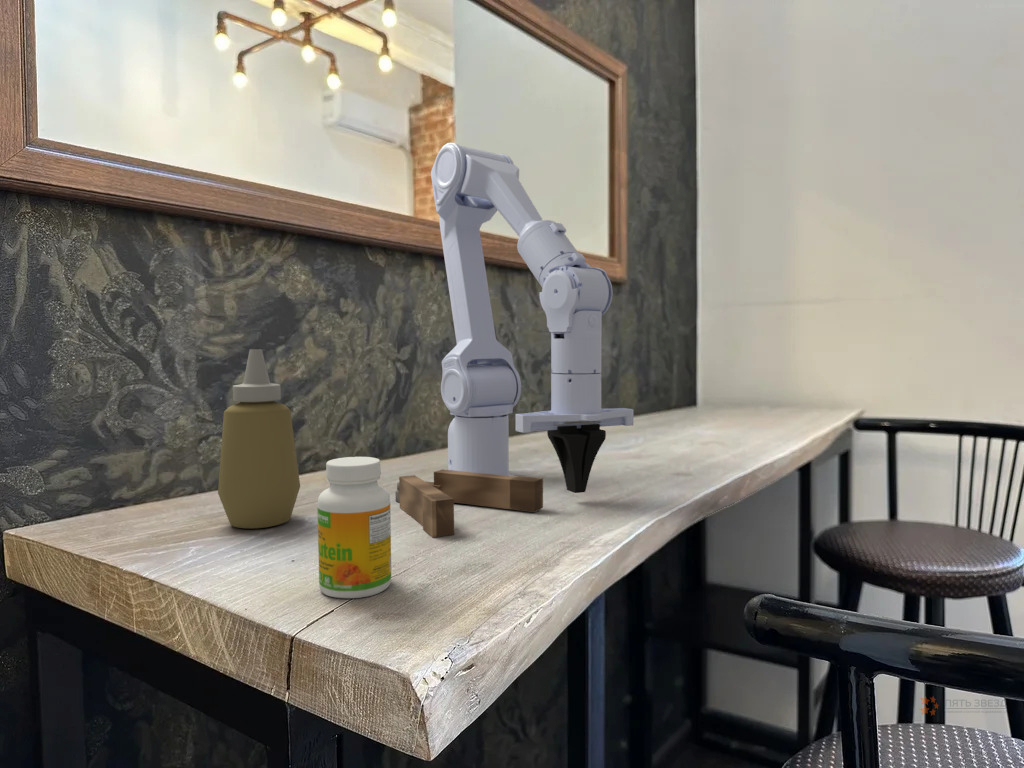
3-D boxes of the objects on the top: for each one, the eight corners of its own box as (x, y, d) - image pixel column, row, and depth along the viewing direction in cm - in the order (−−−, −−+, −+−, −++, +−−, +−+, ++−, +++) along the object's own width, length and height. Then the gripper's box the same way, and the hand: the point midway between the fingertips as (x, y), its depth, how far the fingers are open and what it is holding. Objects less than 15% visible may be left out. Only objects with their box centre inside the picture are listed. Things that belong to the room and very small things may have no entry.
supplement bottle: (303, 592, 51) (300, 463, 50) (352, 571, 55) (349, 453, 55) (359, 605, 48) (357, 469, 47) (405, 581, 53) (403, 458, 52)
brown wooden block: (385, 498, 81) (385, 469, 81) (421, 495, 83) (420, 466, 82) (432, 537, 65) (431, 501, 65) (475, 531, 67) (474, 496, 66)
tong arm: (391, 499, 80) (391, 471, 79) (412, 492, 83) (412, 465, 83) (526, 516, 72) (526, 485, 71) (543, 507, 75) (543, 478, 75)
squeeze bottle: (274, 535, 66) (269, 349, 65) (200, 531, 67) (194, 350, 66) (315, 514, 74) (311, 348, 72) (248, 511, 75) (243, 349, 74)
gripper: (535, 376, 71) (535, 504, 72) (649, 373, 77) (648, 491, 78) (507, 373, 77) (507, 491, 78) (614, 370, 83) (614, 480, 84)
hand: (576, 491), depth 78 cm, fingers closed
